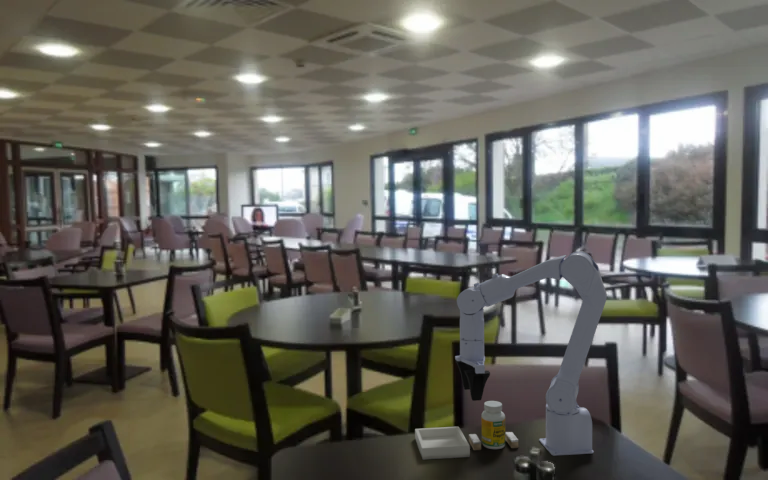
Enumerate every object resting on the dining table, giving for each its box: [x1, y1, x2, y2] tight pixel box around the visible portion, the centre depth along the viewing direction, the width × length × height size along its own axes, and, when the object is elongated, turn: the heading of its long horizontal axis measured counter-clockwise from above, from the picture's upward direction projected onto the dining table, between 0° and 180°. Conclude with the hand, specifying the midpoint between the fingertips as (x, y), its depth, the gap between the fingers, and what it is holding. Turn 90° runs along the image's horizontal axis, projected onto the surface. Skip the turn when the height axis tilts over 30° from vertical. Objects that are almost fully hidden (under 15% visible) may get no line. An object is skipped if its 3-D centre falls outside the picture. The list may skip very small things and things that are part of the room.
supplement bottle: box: [480, 400, 506, 450], centre depth 123 cm, size 5×5×10 cm
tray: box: [414, 426, 471, 460], centre depth 122 cm, size 10×10×2 cm
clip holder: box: [468, 431, 519, 451], centre depth 124 cm, size 10×4×2 cm, turn 95°
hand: (472, 394), depth 130 cm, fingers open, 7 cm apart
